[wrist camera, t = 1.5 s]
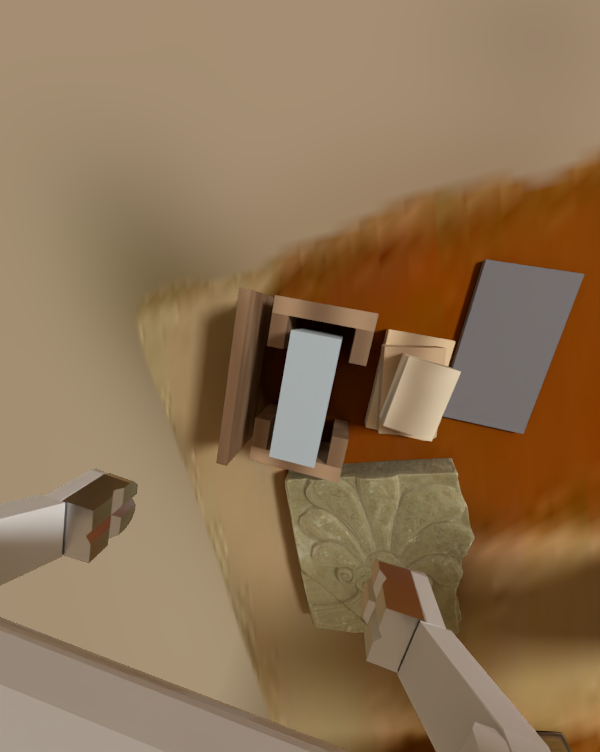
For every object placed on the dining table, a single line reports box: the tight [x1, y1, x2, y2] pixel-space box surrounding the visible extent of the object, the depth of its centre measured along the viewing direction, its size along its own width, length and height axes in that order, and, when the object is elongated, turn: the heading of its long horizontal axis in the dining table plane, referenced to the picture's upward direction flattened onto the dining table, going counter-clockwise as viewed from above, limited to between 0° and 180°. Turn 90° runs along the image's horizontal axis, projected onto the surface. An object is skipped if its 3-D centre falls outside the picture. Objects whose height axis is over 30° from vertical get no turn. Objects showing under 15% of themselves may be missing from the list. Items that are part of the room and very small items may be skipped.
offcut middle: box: [376, 344, 447, 438], centre depth 26 cm, size 5×8×2 cm, turn 179°
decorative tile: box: [285, 458, 474, 634], centre depth 31 cm, size 19×20×4 cm
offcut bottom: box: [365, 329, 456, 441], centre depth 28 cm, size 6×10×2 cm, turn 170°
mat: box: [443, 260, 584, 434], centre depth 26 cm, size 8×15×1 cm, turn 169°
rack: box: [217, 288, 378, 483], centre depth 27 cm, size 12×16×7 cm
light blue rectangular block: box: [269, 328, 343, 468], centre depth 26 cm, size 4×11×8 cm, turn 169°
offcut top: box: [380, 353, 461, 442], centre depth 23 cm, size 4×6×2 cm, turn 164°
